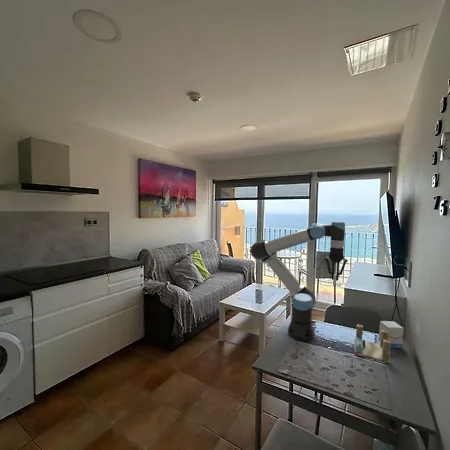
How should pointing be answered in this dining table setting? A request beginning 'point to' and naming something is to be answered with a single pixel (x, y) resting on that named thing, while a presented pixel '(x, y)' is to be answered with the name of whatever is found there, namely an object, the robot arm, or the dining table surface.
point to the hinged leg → (359, 344)
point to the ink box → (392, 333)
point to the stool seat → (375, 346)
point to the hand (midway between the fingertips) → (334, 285)
